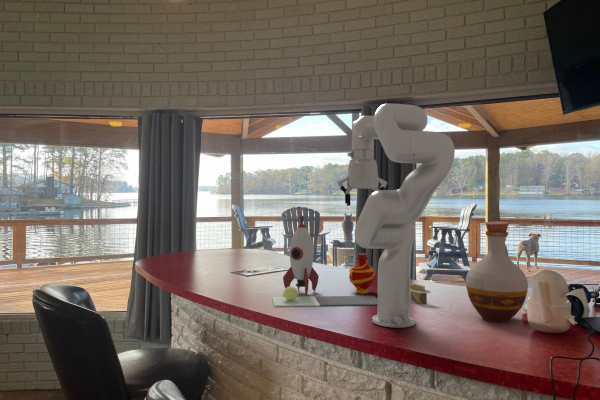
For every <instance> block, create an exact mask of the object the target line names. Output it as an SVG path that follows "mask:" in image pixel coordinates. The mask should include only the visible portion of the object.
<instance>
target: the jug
mask: <svg viewBox="0 0 600 400" xmlns="http://www.w3.org/2000/svg"><path fill="white" fill-rule="evenodd" d="M509 224H510V223H509V222H508V221H487V222H485V226H486V227H485V228H486V229H487V231H485V236H487V241H488V251H487V254H486V255H484V256H483V257H482V258H481V259H480V260H479V261H478V262H477V263H476V264H475V265H473V266H472V267H471V268H470V269H469V271H468V272H467V274H466V278H465V286H466V292H467V296H468V298H469V301H470V303H471V305H472V307H474V309H475V310H476V312H477V313H478V315H479V316H480V317H481V318H482V319H483V320H485V321H489V322H495V323H496V322H497V323H506V322H510V321H511V320H512V319H513V318H514V317H515V316H516V315H517V313H518V312H519V311H521V309H522V308H523V305H524V304H525V301H526V298H527V295H528V289H529V282H528V278H527V276H526V274H525V273H524V271H523V270H521V268H520V267H519V266H517V264H515V262H514V261H512V260H511V258H510V257H509V252H508V250H509V249H508V247H507V244H506V240H507V237H508V235H509V231H507V230H508V227H509Z"/></svg>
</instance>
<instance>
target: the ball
mask: <svg viewBox="0 0 600 400" xmlns="http://www.w3.org/2000/svg"><path fill="white" fill-rule="evenodd" d="M298 294H299V291H298V289H296V288H295V287H294V286H291V285H290V287H287V288H286V289H285V288H284V290H283V297H285V299H286V300H288V301H293V300H295V299H296V298H297V297H298Z"/></svg>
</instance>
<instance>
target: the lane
mask: <svg viewBox="0 0 600 400" xmlns="http://www.w3.org/2000/svg"><path fill="white" fill-rule="evenodd" d="M271 298H272V303H273V307H274V308H286V307H287V308H289V307H291V308H292V307H295V308H297V307H298V306H299V308H300V306H305V307H357V306H360V307H362V306H363V307H364V306H367V307H368V306H372V307H373V306H378V297H376V296H375V295H337V296H336V295H326V296H325V295H324V296H323V295H321V296H317V295H316V296H313V295H312V296H308V295H307V296H297V298H296V299H295V300H293V301H288V300H286V299H285V297H284V296H272V297H271Z"/></svg>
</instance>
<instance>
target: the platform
mask: <svg viewBox="0 0 600 400" xmlns="http://www.w3.org/2000/svg"><path fill="white" fill-rule="evenodd" d="M425 288H426V286H425V285H420V284H416V283H413V284H411V283H410V301H413V302H418V304H425V305H427V304H428V299H427V297H428V296H427V295H428V294H431V291H430V290H427V289H425Z"/></svg>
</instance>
